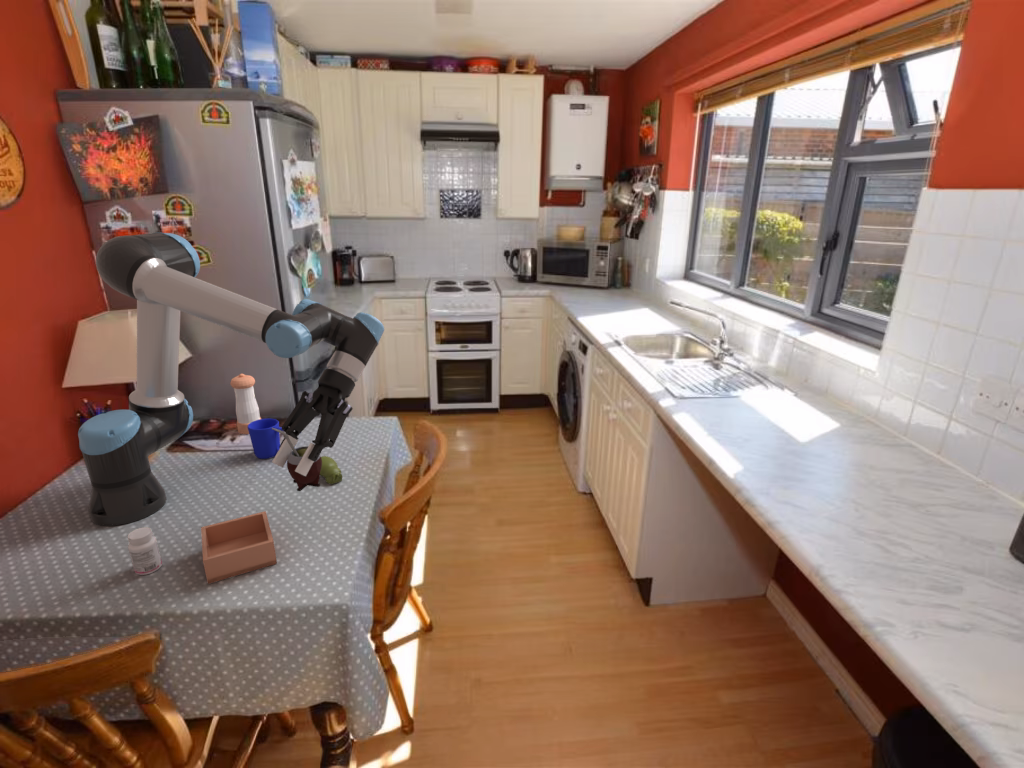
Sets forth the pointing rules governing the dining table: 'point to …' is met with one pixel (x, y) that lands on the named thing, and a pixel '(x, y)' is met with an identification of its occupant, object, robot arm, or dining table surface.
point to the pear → (330, 470)
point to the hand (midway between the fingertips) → (288, 469)
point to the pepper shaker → (245, 402)
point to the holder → (237, 547)
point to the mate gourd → (295, 459)
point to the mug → (265, 437)
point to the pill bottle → (144, 551)
